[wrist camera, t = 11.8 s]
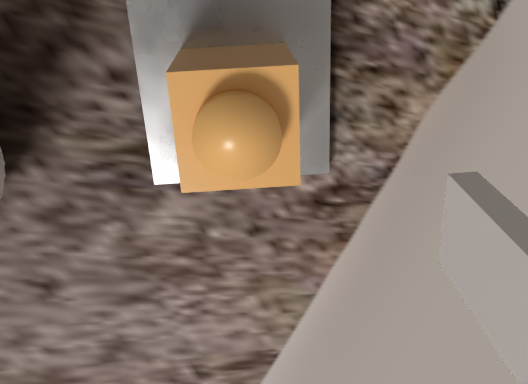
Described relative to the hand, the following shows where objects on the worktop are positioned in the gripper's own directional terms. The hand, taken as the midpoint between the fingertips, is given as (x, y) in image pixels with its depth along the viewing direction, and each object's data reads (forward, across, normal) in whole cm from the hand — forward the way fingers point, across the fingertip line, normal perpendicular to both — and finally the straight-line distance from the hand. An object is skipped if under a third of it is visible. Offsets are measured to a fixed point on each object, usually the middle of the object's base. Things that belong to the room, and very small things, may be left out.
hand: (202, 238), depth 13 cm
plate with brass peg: (+21, +1, 0) cm, 21 cm away
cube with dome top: (+20, +1, -2) cm, 20 cm away
